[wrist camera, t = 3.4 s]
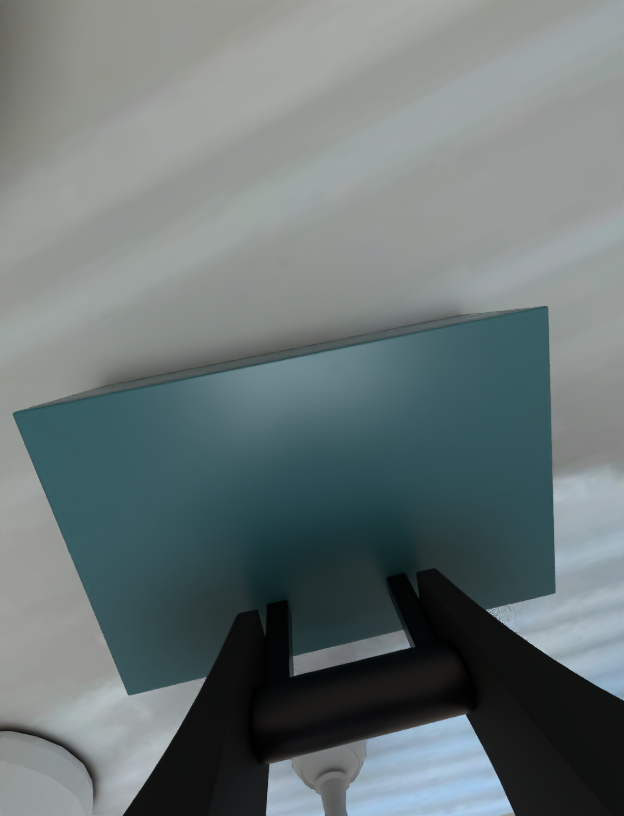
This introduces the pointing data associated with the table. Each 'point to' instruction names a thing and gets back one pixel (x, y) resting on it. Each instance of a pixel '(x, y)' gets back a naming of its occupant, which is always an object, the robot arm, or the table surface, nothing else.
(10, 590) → the table surface
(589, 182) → the table surface
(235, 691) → the robot arm
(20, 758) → the cup
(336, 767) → the chalice
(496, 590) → the teal panel with handle
